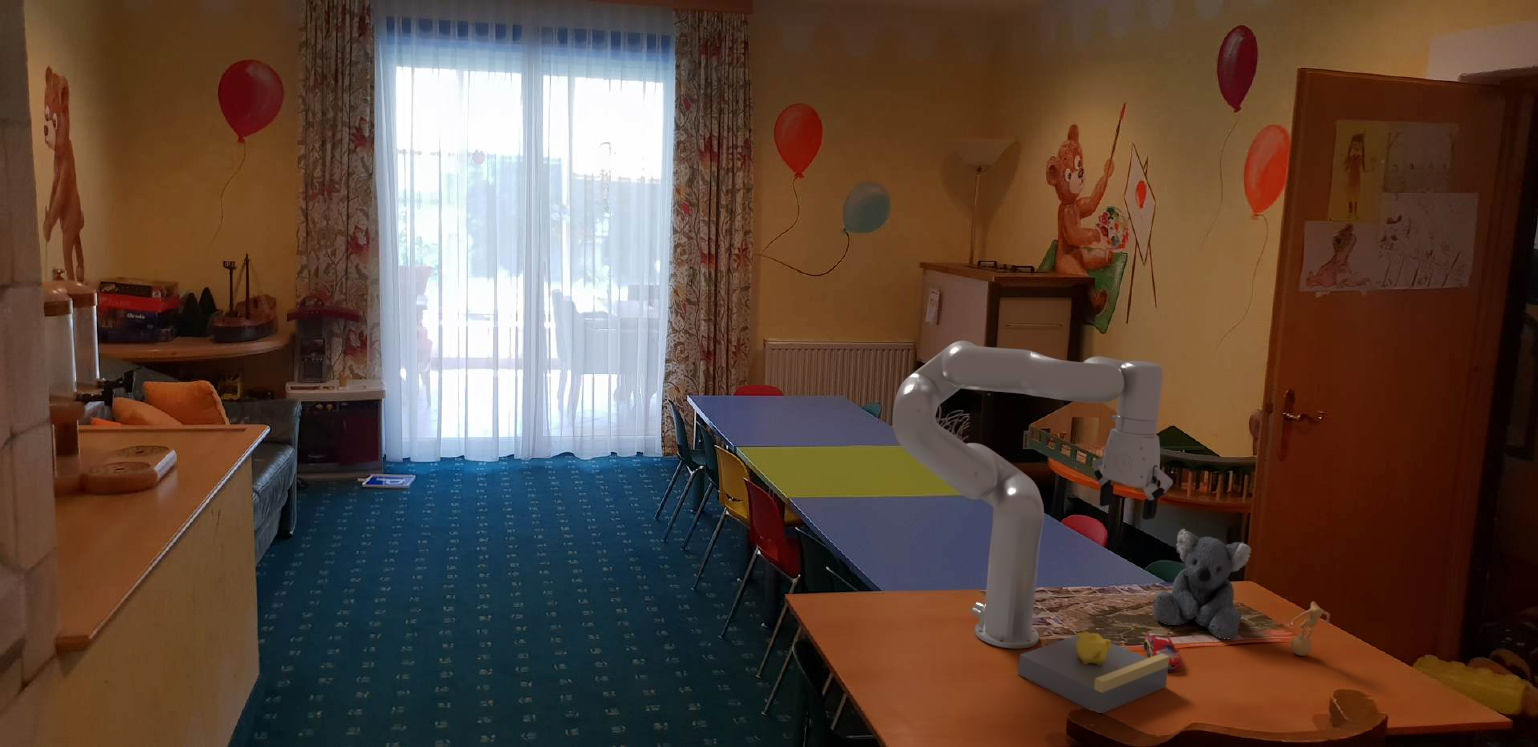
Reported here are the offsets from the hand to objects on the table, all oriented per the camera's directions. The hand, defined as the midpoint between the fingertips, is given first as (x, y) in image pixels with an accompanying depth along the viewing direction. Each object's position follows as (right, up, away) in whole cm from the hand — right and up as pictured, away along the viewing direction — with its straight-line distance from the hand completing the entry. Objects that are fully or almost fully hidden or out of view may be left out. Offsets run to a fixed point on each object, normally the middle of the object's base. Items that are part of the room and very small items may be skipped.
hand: (1126, 511), depth 212 cm
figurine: (+37, -30, +6) cm, 48 cm away
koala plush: (+23, -27, +22) cm, 41 cm away
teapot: (-10, -26, -11) cm, 30 cm away
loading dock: (-10, -30, -10) cm, 33 cm away
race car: (+7, -29, +1) cm, 30 cm away
